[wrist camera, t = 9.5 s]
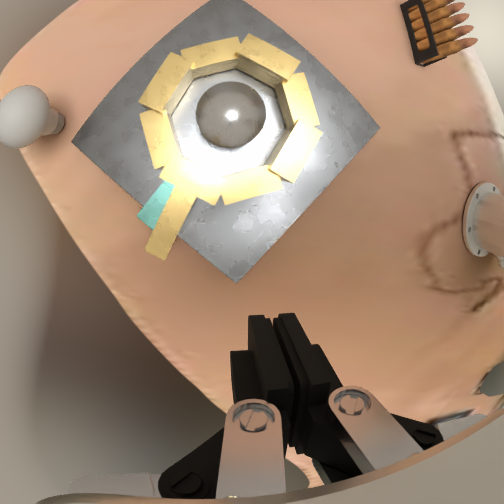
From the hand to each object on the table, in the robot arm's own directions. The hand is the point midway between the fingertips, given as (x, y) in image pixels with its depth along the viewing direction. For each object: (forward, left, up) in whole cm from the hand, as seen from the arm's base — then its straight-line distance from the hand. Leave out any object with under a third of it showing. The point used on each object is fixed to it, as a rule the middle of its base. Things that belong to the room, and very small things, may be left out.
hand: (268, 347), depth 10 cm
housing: (+8, -8, -22) cm, 25 cm away
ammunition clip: (+1, -38, -22) cm, 44 cm away
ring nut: (+7, -5, -20) cm, 22 cm away
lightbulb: (+24, +4, -22) cm, 33 cm away
